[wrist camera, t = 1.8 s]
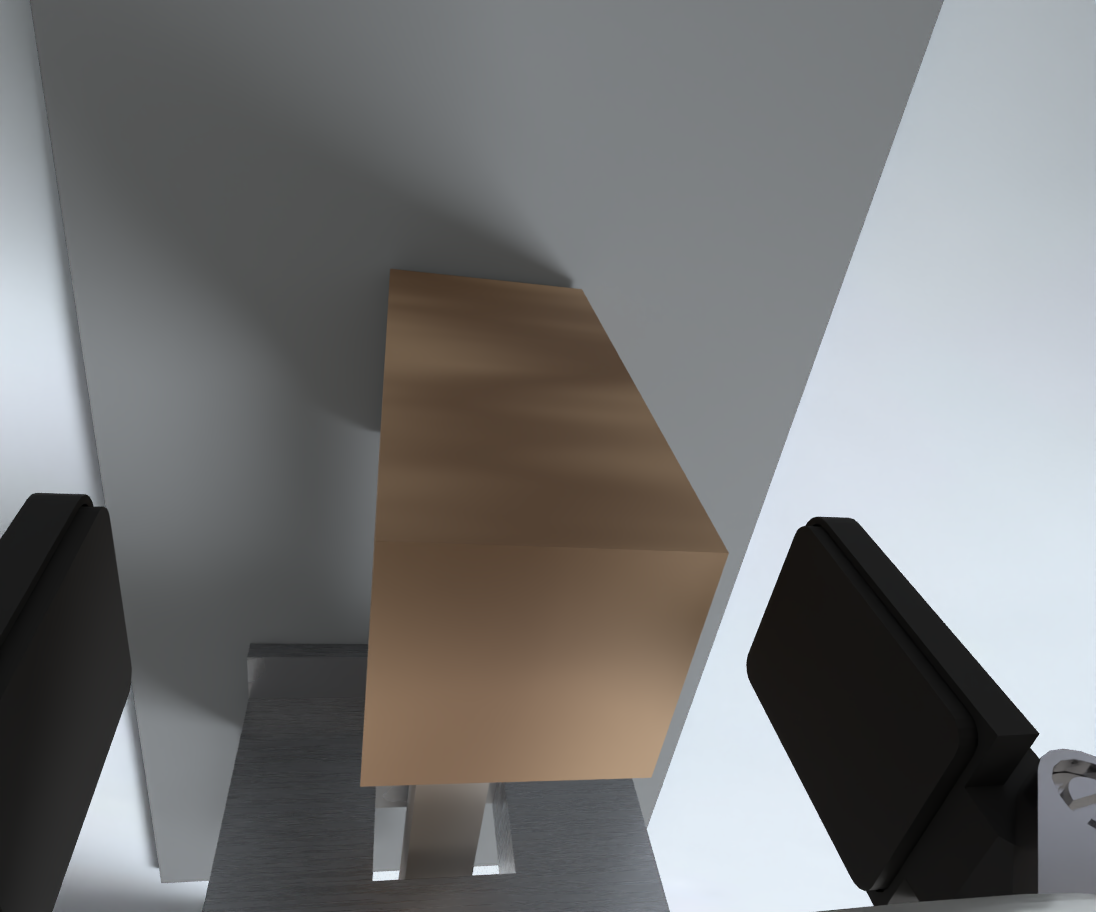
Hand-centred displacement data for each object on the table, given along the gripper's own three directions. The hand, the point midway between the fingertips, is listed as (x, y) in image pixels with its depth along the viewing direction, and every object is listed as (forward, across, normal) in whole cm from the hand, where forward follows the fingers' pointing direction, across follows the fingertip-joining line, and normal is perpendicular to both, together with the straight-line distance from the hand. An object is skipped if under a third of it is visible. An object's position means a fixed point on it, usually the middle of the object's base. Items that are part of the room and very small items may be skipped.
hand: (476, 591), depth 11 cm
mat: (+8, -1, +3) cm, 9 cm away
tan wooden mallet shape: (+7, -1, +8) cm, 11 cm away
